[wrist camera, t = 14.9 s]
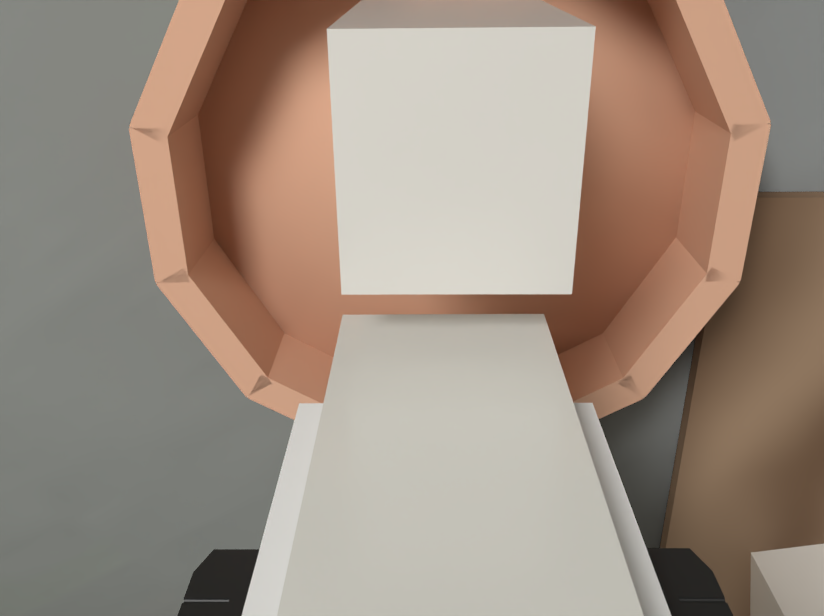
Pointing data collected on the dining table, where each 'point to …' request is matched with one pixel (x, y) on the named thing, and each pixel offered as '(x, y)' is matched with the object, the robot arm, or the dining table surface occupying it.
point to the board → (757, 405)
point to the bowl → (325, 305)
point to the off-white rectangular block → (452, 479)
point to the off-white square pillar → (788, 582)
